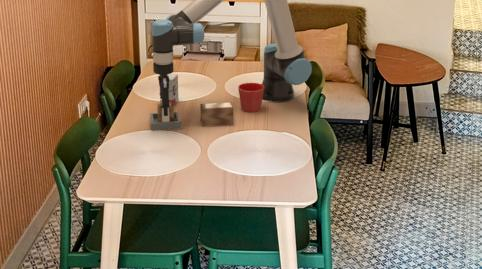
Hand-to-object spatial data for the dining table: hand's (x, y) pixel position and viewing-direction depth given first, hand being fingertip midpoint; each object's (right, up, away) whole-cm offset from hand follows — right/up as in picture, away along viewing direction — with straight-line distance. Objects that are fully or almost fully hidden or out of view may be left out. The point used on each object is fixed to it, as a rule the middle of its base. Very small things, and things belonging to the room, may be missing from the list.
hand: (165, 119), depth 265 cm
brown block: (0, -1, +1) cm, 1 cm away
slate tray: (0, -2, +1) cm, 2 cm away
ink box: (0, +7, +23) cm, 24 cm away
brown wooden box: (+20, -1, +3) cm, 20 cm away
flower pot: (+33, +4, +18) cm, 38 cm away
